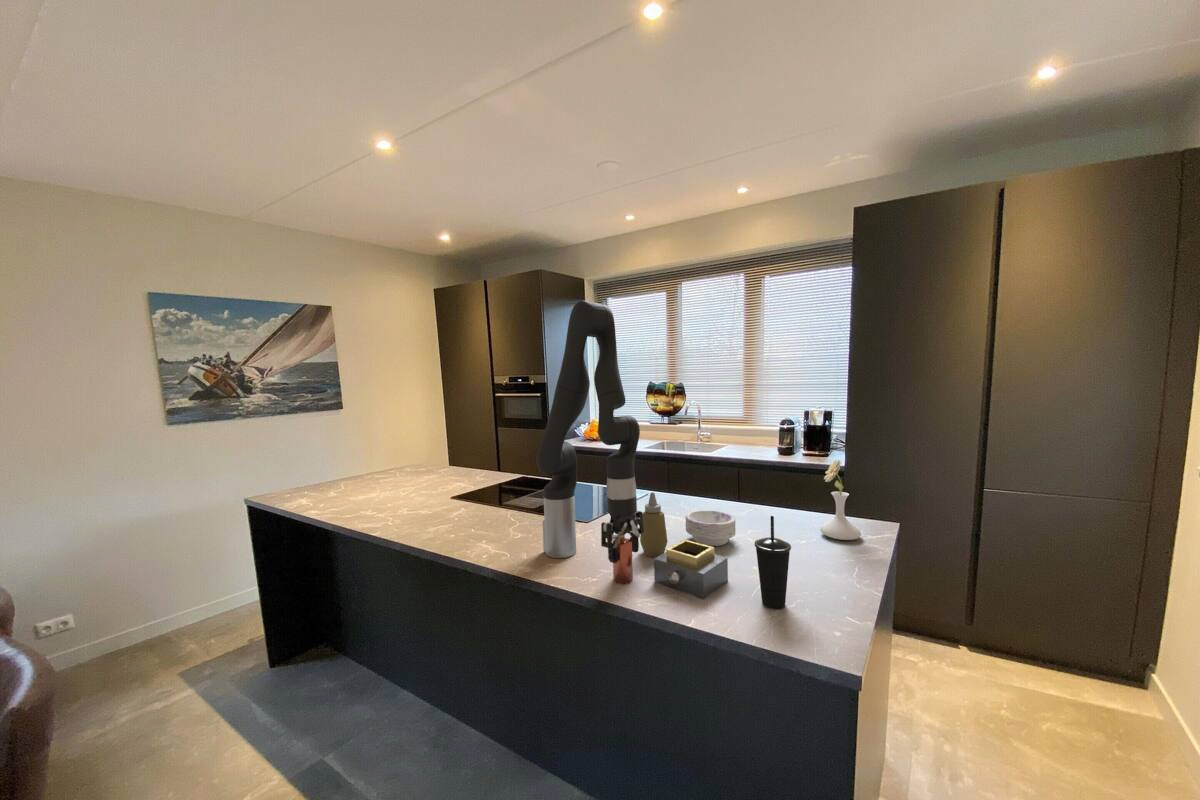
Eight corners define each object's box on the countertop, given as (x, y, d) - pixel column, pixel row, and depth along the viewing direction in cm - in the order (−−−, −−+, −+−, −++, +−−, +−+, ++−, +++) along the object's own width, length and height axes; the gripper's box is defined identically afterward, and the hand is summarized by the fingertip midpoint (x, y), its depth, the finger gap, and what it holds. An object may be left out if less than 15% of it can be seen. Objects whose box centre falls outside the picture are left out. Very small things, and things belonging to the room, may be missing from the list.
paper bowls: (741, 537, 141) (741, 512, 141) (727, 553, 128) (727, 527, 128) (695, 529, 149) (695, 506, 149) (678, 544, 137) (677, 519, 136)
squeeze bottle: (667, 559, 126) (665, 496, 125) (638, 557, 127) (637, 496, 127) (668, 548, 134) (667, 489, 133) (641, 547, 135) (640, 489, 134)
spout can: (609, 580, 114) (607, 530, 113) (621, 573, 117) (620, 525, 117) (624, 586, 110) (622, 534, 110) (636, 579, 114) (635, 529, 113)
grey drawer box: (649, 584, 111) (648, 551, 110) (680, 566, 121) (679, 535, 120) (699, 602, 101) (698, 566, 101) (727, 581, 111) (727, 547, 111)
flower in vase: (823, 528, 147) (822, 453, 146) (863, 534, 140) (862, 456, 139) (815, 540, 136) (815, 460, 135) (858, 548, 130) (858, 463, 129)
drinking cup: (749, 596, 103) (748, 512, 102) (781, 594, 104) (780, 510, 103) (764, 614, 95) (763, 522, 94) (798, 611, 96) (797, 520, 95)
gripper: (627, 486, 121) (629, 545, 121) (591, 498, 110) (594, 562, 111) (650, 490, 116) (652, 551, 116) (614, 502, 105) (617, 570, 106)
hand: (624, 556), depth 114 cm, fingers open, 8 cm apart
